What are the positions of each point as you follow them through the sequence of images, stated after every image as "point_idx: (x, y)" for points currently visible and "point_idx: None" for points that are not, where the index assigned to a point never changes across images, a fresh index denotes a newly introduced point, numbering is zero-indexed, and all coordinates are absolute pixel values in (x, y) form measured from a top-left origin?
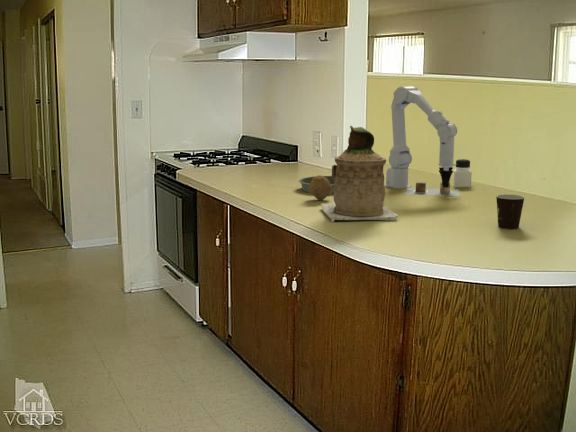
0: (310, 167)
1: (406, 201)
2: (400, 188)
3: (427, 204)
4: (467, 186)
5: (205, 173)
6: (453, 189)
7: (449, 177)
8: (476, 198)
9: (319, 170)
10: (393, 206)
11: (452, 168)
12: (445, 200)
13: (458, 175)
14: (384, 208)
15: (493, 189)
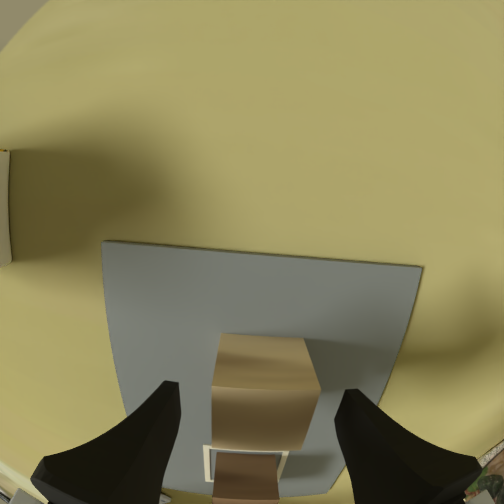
0: (4, 485)
1: None
2: (169, 498)
3: (496, 393)
4: (4, 171)
5: None
6: (105, 288)
7: (420, 444)
8: (447, 152)
9: None
10: (474, 453)
11: (108, 500)
12: (471, 348)
13: None
14: (493, 451)
15: (73, 11)
